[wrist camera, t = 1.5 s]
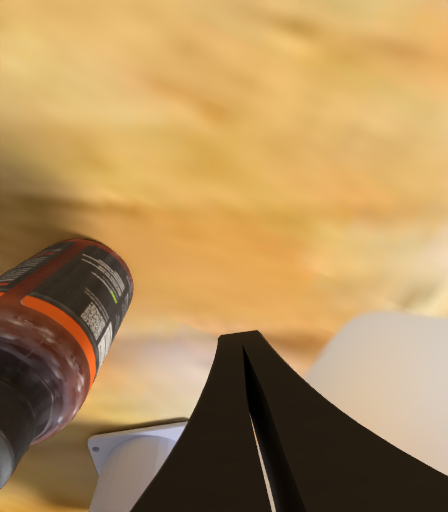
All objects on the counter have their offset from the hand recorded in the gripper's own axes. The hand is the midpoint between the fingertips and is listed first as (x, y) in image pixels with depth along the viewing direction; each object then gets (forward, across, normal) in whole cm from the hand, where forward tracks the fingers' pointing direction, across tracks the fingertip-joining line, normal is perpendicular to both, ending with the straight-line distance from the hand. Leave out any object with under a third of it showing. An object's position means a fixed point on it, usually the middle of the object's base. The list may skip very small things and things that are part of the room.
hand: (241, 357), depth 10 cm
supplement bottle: (+9, +8, 0) cm, 13 cm away
